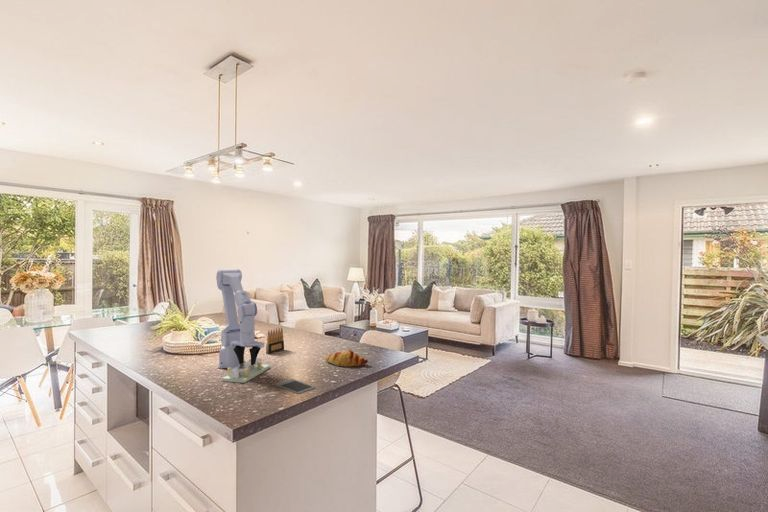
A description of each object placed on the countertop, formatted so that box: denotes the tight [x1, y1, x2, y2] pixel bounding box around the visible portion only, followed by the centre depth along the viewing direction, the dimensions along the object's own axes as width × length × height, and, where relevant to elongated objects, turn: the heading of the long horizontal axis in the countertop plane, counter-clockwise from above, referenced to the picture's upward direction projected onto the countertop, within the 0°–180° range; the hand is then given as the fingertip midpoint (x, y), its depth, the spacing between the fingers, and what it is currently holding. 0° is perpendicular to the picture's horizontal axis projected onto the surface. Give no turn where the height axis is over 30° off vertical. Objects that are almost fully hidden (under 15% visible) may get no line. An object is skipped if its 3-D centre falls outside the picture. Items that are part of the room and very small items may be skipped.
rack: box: [221, 360, 271, 384], centre depth 152 cm, size 10×20×4 cm, turn 169°
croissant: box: [325, 349, 369, 368], centre depth 166 cm, size 21×10×8 cm, turn 72°
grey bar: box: [230, 357, 262, 379], centre depth 152 cm, size 18×5×3 cm, turn 169°
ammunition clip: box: [265, 327, 285, 355], centre depth 188 cm, size 11×2×12 cm, turn 150°
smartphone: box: [274, 378, 316, 395], centre depth 137 cm, size 15×8×1 cm, turn 50°
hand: (247, 364), depth 152 cm, fingers open, 5 cm apart
